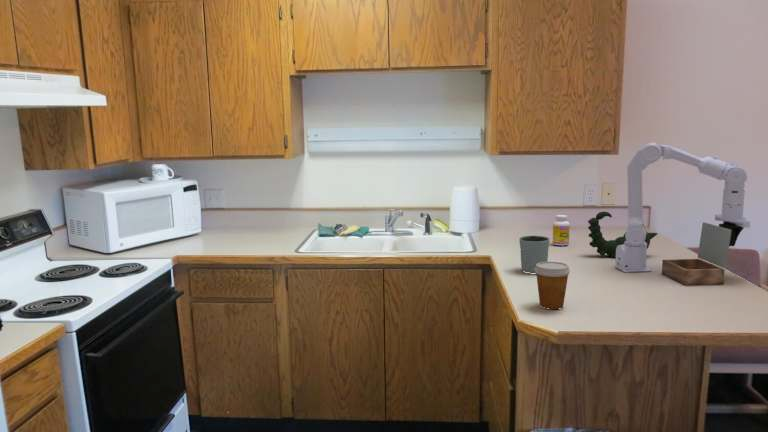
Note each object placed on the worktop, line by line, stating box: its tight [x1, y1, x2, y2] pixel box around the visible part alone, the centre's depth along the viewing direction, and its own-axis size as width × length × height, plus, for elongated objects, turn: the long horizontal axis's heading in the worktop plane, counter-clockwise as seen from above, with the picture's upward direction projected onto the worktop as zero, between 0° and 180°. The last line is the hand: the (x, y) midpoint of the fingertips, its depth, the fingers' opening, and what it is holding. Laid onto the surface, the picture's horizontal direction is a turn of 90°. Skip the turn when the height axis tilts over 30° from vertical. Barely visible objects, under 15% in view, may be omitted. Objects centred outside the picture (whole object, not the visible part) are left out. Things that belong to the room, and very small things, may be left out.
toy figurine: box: [587, 211, 658, 259], centre depth 205 cm, size 9×19×25 cm
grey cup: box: [519, 235, 550, 273], centre depth 188 cm, size 10×10×12 cm
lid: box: [697, 221, 732, 269], centre depth 172 cm, size 12×14×1 cm
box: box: [661, 258, 725, 287], centre depth 174 cm, size 12×14×5 cm
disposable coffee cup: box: [535, 261, 571, 310], centre depth 151 cm, size 10×10×12 cm
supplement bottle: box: [552, 214, 571, 246], centre depth 228 cm, size 7×7×13 cm
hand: (729, 245), depth 173 cm, fingers closed
